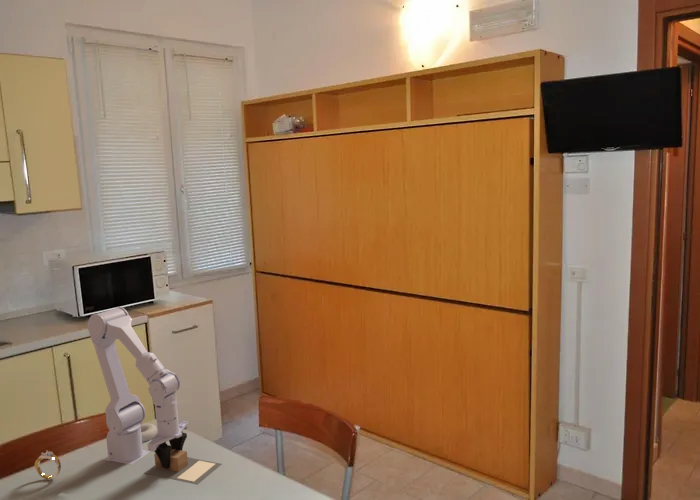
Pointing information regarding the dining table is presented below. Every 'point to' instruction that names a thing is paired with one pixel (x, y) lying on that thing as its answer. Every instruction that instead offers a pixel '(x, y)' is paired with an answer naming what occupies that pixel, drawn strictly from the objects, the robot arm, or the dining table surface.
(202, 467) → the mat
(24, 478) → the dining table surface
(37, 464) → the ring
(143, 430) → the donut
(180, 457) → the brown rectangular block
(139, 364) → the robot arm
